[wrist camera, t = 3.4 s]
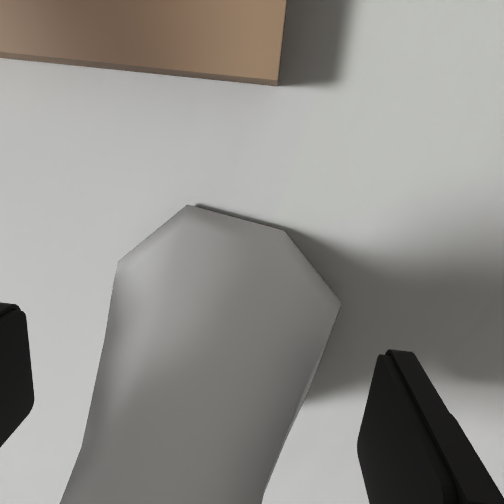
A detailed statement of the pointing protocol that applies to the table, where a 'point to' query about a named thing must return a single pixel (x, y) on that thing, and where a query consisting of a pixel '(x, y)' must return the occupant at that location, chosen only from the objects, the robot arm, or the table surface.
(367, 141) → the table surface
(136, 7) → the walnut board
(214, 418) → the flask
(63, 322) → the table surface
